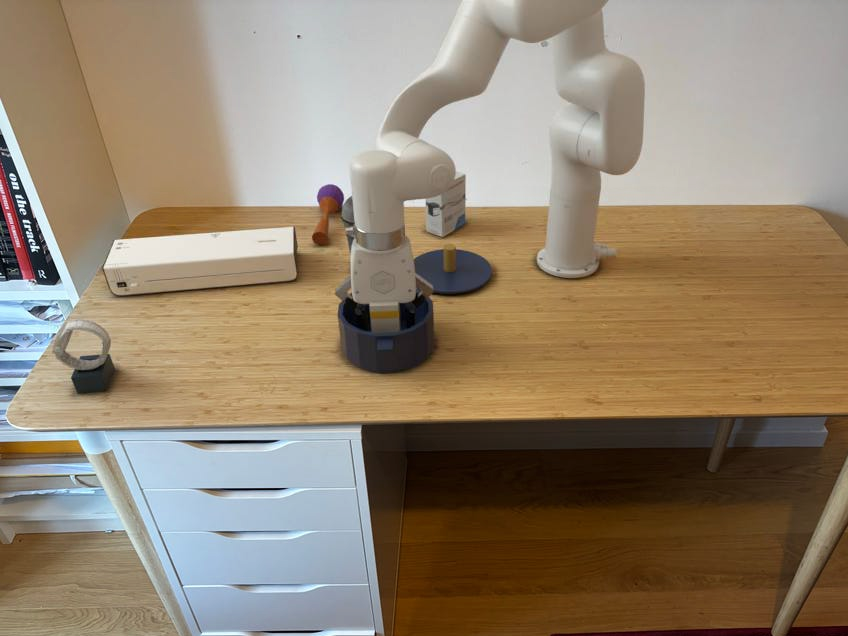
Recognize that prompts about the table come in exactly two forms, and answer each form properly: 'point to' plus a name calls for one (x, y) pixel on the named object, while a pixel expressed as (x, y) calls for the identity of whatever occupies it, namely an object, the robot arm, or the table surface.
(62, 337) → the watch
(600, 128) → the robot arm
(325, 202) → the kendama
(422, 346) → the tin
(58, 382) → the table surface
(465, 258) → the tin lid
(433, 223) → the ink box
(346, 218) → the beverage cup
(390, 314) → the packet
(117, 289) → the laminator
